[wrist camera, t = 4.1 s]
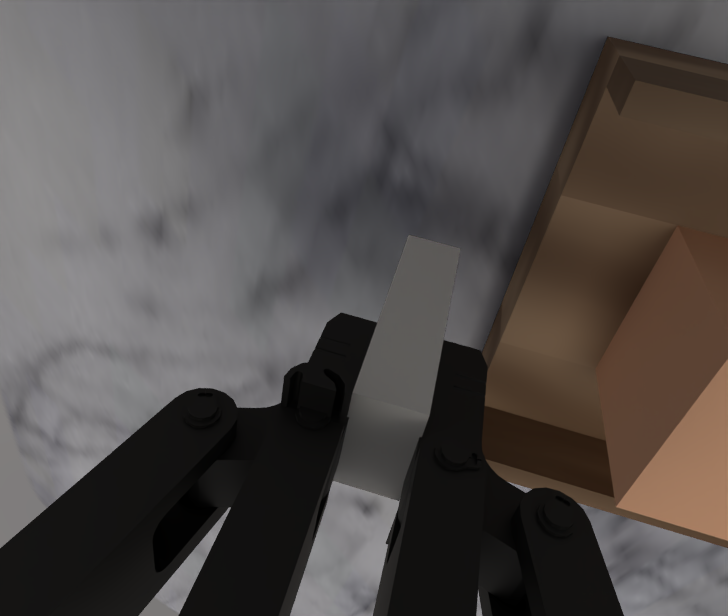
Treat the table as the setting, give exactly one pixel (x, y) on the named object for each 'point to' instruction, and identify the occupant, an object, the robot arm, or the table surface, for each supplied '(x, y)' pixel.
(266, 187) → the table surface
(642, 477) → the block
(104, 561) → the robot arm
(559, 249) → the trap box
